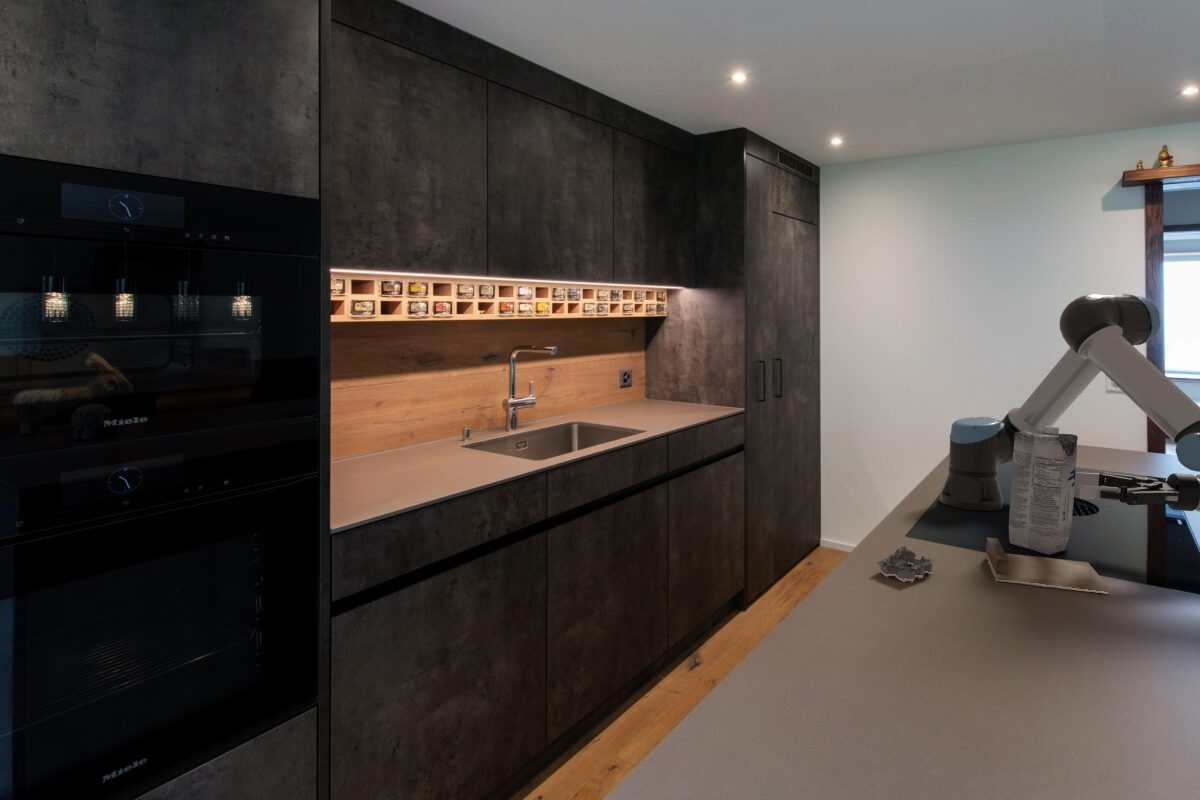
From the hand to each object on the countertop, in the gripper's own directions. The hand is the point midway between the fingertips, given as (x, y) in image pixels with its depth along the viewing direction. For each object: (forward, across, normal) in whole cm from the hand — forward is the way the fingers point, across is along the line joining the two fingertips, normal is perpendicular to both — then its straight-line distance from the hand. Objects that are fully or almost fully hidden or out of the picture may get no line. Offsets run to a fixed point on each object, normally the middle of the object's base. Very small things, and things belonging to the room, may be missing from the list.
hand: (1071, 484), depth 148 cm
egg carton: (+33, -26, -15) cm, 45 cm away
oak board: (+8, -18, -15) cm, 25 cm away
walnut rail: (+16, -18, -13) cm, 28 cm away
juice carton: (+5, 0, -15) cm, 16 cm away
